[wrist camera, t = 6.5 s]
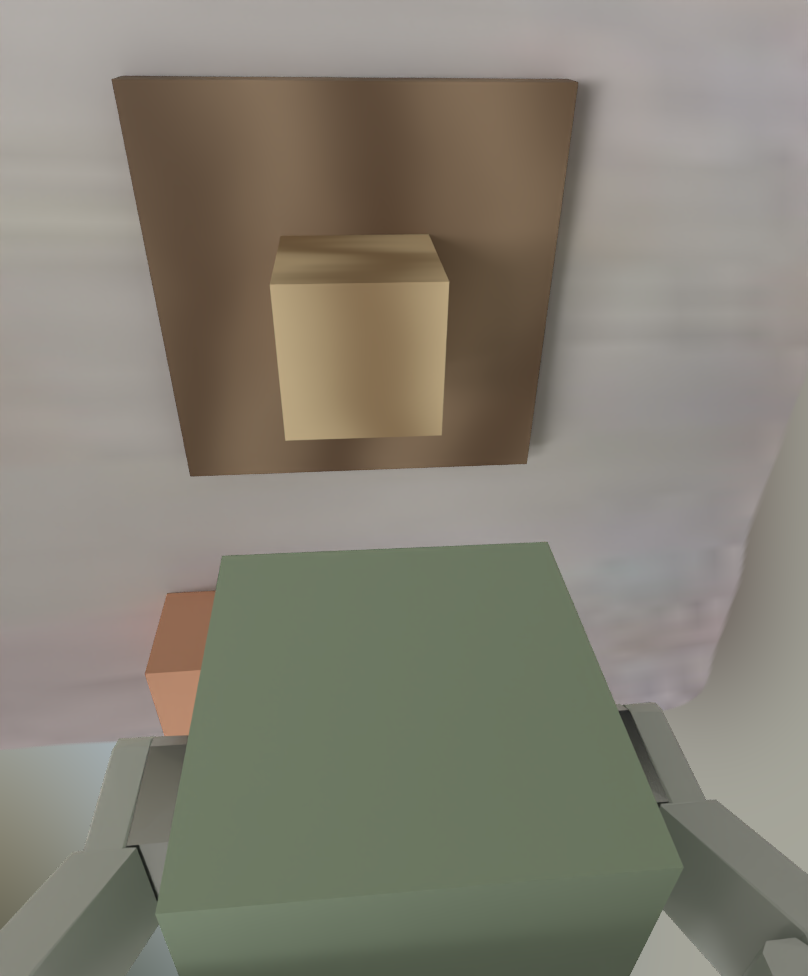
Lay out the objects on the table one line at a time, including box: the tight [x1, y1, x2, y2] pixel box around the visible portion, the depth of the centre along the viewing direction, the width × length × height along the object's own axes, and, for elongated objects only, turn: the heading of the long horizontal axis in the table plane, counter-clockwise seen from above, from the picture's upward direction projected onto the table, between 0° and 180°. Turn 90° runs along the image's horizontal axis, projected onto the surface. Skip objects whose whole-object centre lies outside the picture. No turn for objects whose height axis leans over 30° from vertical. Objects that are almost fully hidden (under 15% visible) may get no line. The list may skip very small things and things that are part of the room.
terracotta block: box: [145, 591, 215, 736], centre depth 33 cm, size 5×5×5 cm
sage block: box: [155, 542, 684, 976], centre depth 10 cm, size 5×5×5 cm
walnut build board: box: [112, 76, 578, 476], centre depth 23 cm, size 14×14×6 cm
